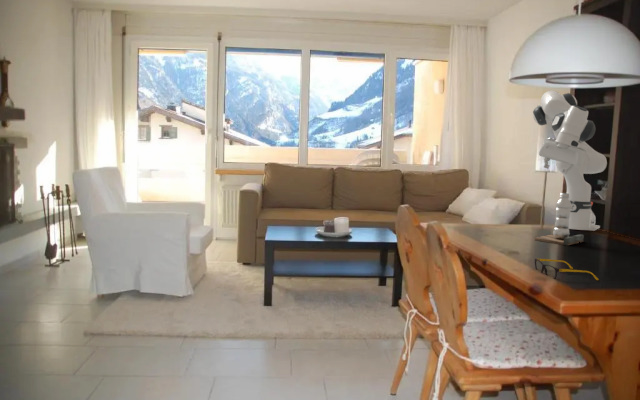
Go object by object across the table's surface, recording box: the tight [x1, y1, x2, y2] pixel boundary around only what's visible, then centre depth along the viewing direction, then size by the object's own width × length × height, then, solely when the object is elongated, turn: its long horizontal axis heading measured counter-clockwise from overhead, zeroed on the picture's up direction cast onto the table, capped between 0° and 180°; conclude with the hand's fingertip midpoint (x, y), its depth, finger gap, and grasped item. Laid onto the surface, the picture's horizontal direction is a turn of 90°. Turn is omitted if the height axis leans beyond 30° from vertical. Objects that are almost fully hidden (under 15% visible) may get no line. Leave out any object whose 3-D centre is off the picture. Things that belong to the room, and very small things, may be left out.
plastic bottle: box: [552, 192, 572, 239], centre depth 222 cm, size 6×7×20 cm
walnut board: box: [534, 233, 585, 246], centre depth 223 cm, size 16×14×3 cm
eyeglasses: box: [534, 258, 599, 281], centre depth 163 cm, size 14×14×4 cm
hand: (554, 170), depth 231 cm, fingers open, 8 cm apart
